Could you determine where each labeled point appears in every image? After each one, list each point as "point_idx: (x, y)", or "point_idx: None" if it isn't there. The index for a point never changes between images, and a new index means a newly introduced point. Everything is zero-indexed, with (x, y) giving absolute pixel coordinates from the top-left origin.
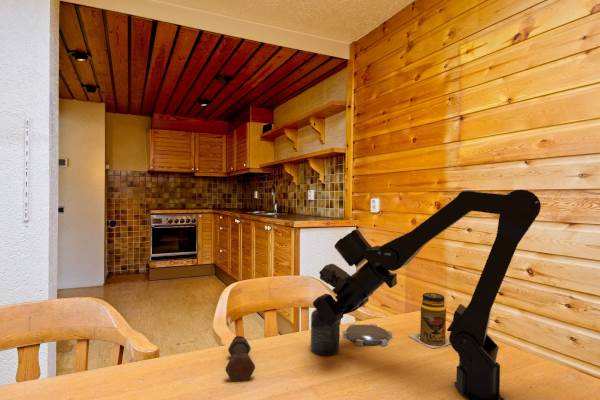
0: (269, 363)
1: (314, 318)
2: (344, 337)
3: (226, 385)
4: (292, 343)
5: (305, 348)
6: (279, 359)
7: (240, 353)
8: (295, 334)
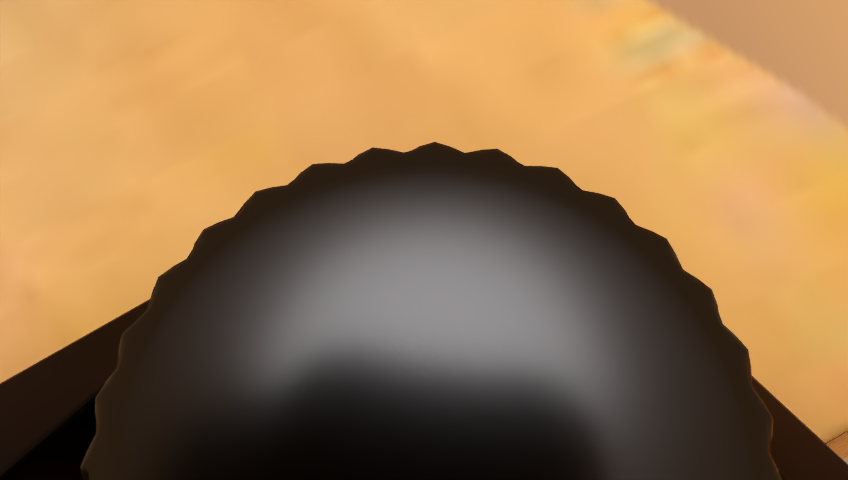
0: (29, 90)
1: (79, 340)
2: None
3: None
4: (434, 79)
5: None
6: (117, 123)
7: None
8: (624, 17)
